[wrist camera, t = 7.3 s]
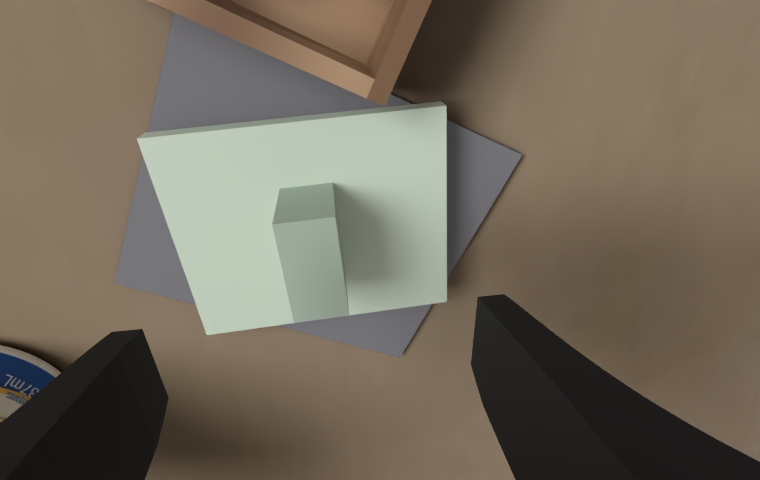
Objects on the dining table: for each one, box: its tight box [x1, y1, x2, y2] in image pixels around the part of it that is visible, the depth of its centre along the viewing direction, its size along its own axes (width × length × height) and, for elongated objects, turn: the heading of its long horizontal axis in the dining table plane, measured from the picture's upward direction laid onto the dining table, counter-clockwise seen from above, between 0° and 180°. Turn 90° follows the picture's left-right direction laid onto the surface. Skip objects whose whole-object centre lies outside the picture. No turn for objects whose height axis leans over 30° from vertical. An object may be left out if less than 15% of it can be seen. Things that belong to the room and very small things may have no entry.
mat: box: [114, 13, 522, 358], centre depth 19 cm, size 14×12×1 cm
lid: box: [137, 101, 447, 335], centre depth 17 cm, size 11×9×4 cm
